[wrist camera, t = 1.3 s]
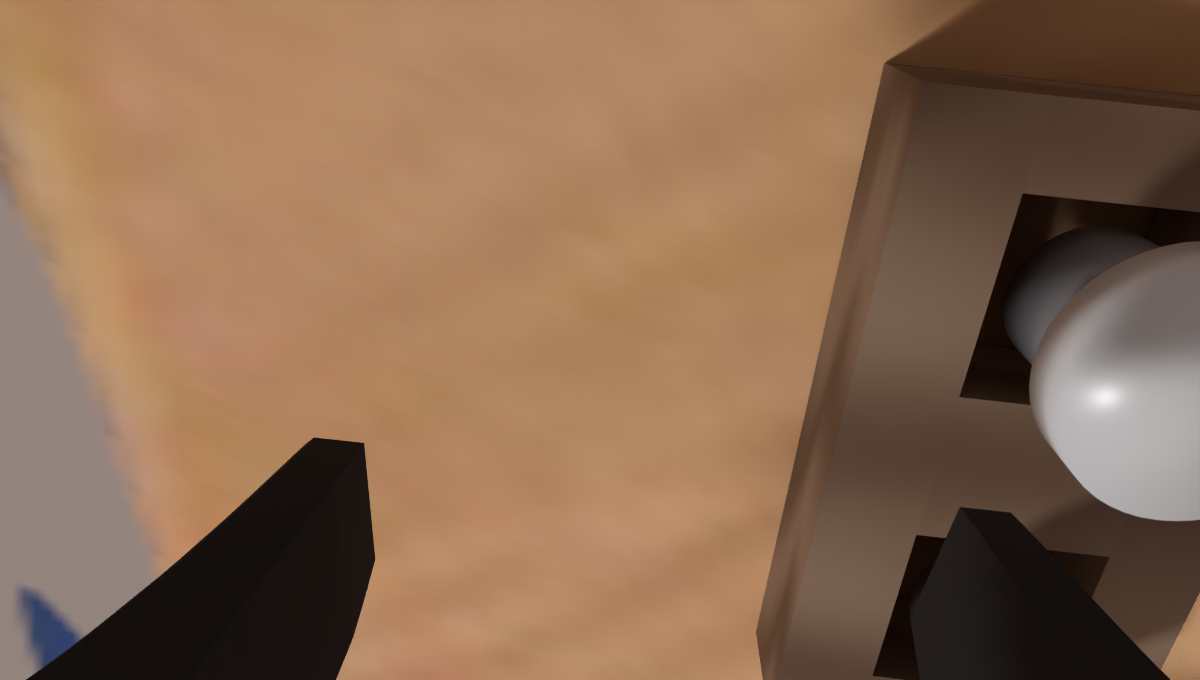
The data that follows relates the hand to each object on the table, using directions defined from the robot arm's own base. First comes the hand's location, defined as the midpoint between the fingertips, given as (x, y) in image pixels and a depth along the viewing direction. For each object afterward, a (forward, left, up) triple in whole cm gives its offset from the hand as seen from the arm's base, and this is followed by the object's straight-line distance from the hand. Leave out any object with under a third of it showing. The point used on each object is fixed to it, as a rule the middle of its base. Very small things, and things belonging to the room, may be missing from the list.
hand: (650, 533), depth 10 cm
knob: (+1, -9, -8) cm, 12 cm away
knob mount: (-3, -9, -11) cm, 14 cm away
